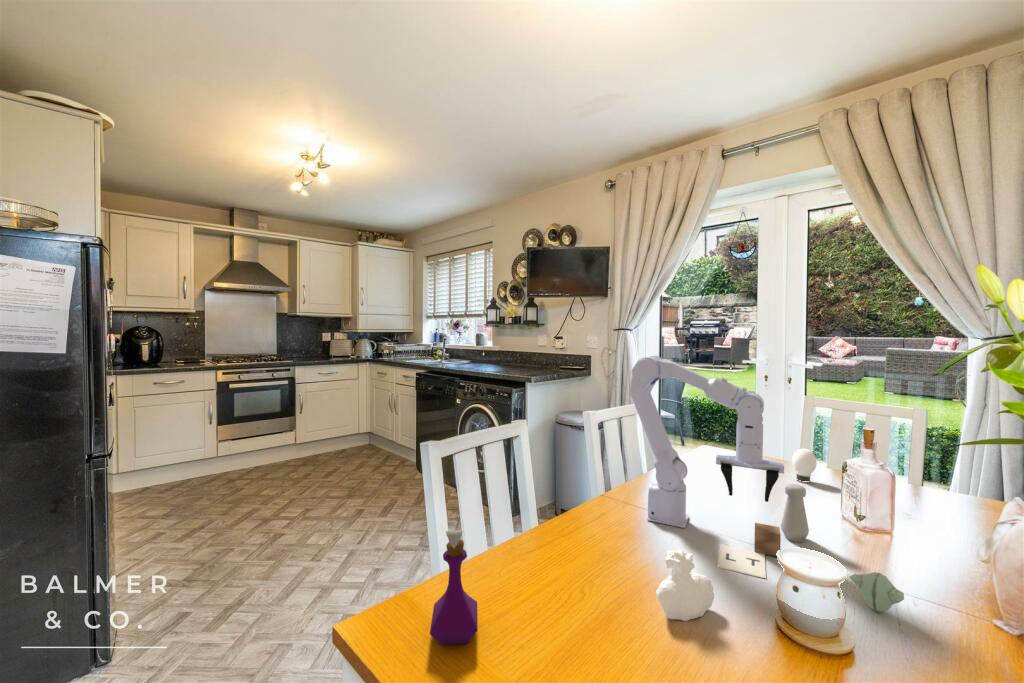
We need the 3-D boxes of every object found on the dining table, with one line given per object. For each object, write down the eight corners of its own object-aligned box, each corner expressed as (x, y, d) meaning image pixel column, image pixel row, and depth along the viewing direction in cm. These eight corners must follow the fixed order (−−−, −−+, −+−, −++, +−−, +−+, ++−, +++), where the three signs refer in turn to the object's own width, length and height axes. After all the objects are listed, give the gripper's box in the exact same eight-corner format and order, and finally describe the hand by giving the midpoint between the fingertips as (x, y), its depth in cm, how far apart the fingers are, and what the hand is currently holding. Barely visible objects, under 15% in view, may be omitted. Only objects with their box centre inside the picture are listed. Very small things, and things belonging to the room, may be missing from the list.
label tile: (717, 567, 93) (717, 566, 93) (720, 544, 103) (720, 543, 103) (765, 578, 89) (765, 577, 89) (764, 554, 98) (764, 553, 98)
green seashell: (846, 602, 81) (847, 567, 81) (855, 595, 83) (856, 560, 83) (902, 627, 75) (903, 588, 74) (909, 618, 77) (911, 581, 77)
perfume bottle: (434, 622, 76) (433, 520, 75) (477, 619, 76) (477, 518, 76) (429, 654, 68) (429, 541, 68) (477, 651, 69) (477, 539, 68)
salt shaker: (813, 545, 103) (814, 490, 102) (786, 542, 104) (787, 489, 104) (802, 533, 108) (803, 482, 108) (776, 531, 110) (777, 480, 109)
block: (754, 551, 99) (754, 529, 99) (754, 543, 104) (754, 522, 104) (780, 557, 97) (780, 535, 97) (779, 548, 101) (779, 527, 101)
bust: (707, 613, 82) (681, 549, 88) (734, 608, 76) (704, 539, 82) (655, 628, 77) (631, 560, 83) (679, 624, 72) (652, 551, 78)
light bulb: (787, 478, 149) (787, 446, 149) (805, 477, 150) (806, 445, 149) (802, 485, 142) (803, 451, 142) (821, 484, 143) (822, 451, 143)
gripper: (715, 442, 106) (714, 497, 106) (785, 450, 99) (784, 509, 99) (717, 435, 112) (716, 487, 113) (783, 443, 105) (782, 498, 106)
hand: (748, 497), depth 106 cm, fingers open, 7 cm apart
